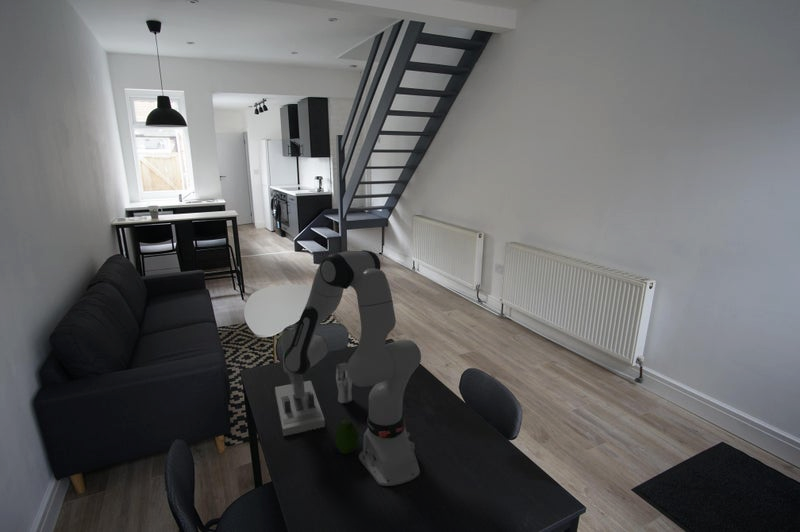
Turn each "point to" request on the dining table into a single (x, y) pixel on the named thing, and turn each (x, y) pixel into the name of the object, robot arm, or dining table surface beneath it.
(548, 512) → the dining table surface
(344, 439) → the avocado
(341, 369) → the beer glass
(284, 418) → the breaker panel
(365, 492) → the dining table surface
